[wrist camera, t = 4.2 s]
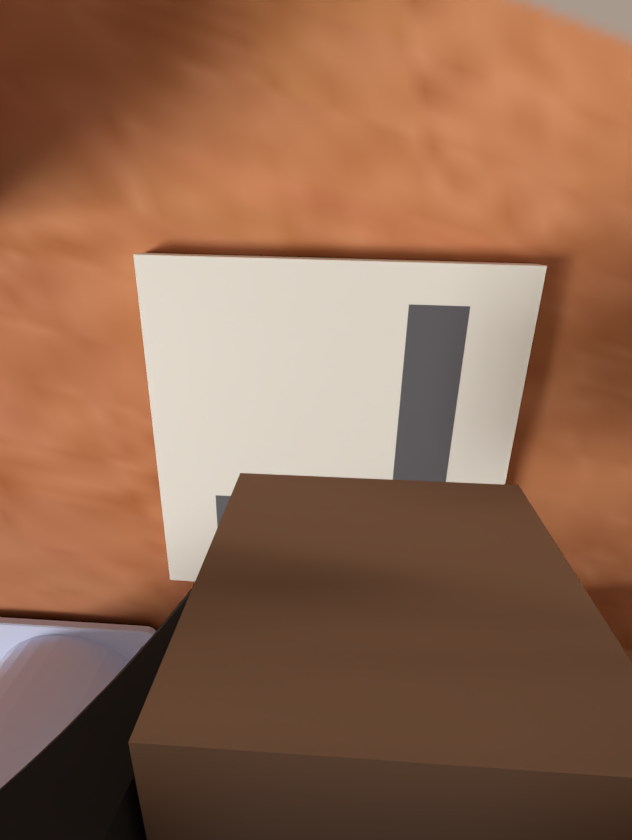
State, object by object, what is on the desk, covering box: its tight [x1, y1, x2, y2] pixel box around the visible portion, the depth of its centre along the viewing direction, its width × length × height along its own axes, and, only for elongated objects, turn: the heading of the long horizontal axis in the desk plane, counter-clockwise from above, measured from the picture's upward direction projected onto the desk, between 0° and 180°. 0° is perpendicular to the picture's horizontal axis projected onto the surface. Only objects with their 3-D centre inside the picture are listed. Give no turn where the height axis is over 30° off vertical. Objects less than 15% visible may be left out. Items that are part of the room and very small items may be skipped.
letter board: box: [133, 253, 547, 581], centre depth 17 cm, size 12×12×1 cm
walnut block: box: [128, 473, 632, 840], centre depth 8 cm, size 5×5×5 cm
